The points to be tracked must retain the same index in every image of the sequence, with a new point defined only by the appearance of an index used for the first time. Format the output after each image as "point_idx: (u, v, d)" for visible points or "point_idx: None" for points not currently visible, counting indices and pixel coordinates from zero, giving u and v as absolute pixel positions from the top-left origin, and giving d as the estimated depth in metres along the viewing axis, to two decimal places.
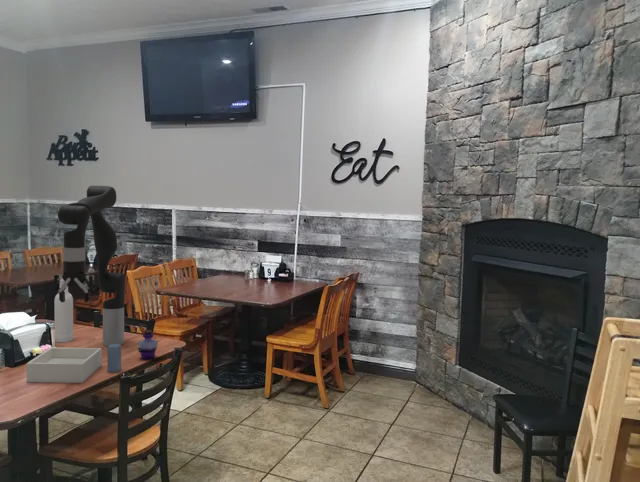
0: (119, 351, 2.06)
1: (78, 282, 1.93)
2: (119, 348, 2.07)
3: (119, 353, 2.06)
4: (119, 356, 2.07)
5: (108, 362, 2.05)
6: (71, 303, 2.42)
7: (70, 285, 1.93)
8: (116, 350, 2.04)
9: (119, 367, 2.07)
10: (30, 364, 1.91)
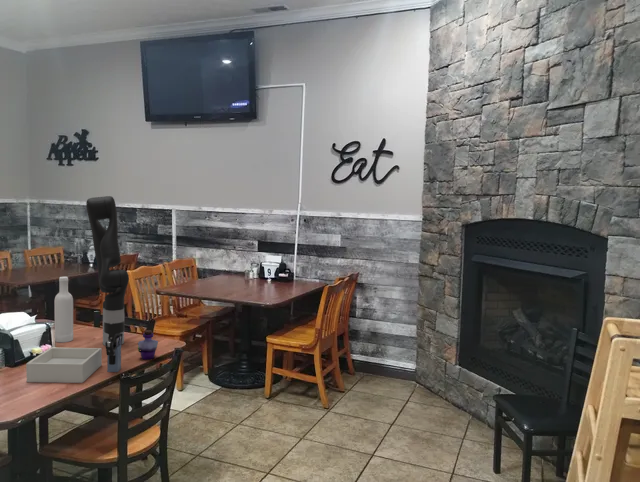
0: (119, 351, 2.06)
1: (119, 340, 2.08)
2: (119, 348, 2.07)
3: (119, 353, 2.07)
4: (119, 356, 2.07)
5: (108, 362, 2.05)
6: (71, 303, 2.42)
7: None
8: (116, 350, 2.04)
9: (119, 367, 2.07)
10: (30, 364, 1.91)
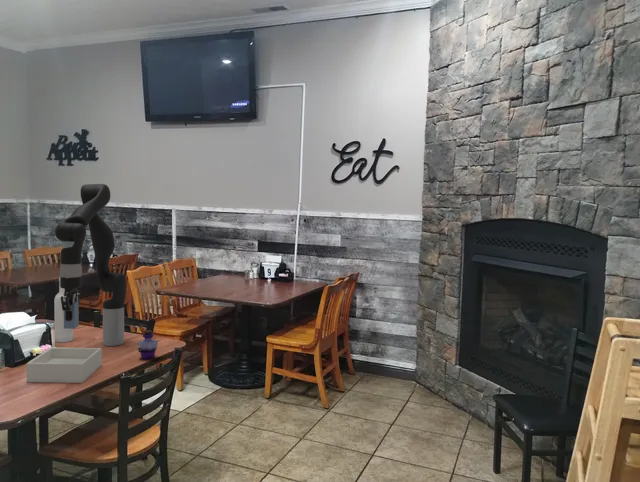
0: (76, 307, 2.00)
1: (77, 296, 2.01)
2: (77, 305, 2.01)
3: (76, 309, 2.00)
4: (76, 312, 2.00)
5: (64, 318, 1.98)
6: None
7: None
8: (73, 306, 1.98)
9: (76, 324, 2.01)
10: (30, 364, 1.91)
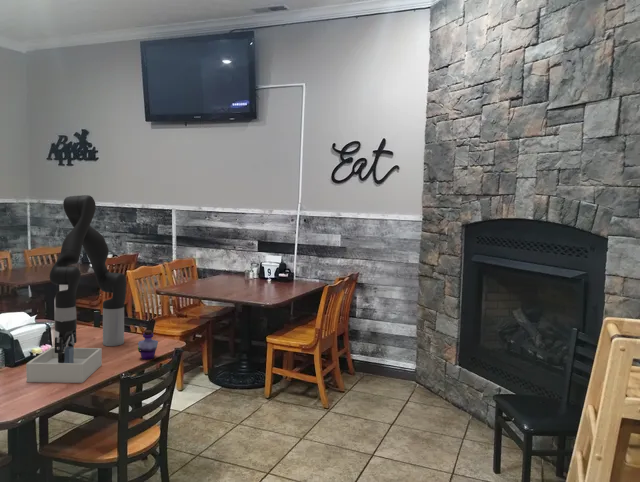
0: (71, 353, 2.01)
1: (72, 337, 2.03)
2: (72, 351, 2.02)
3: (71, 355, 2.02)
4: (71, 358, 2.02)
5: None
6: None
7: (67, 343, 2.00)
8: (67, 352, 1.99)
9: None
10: (30, 364, 1.91)
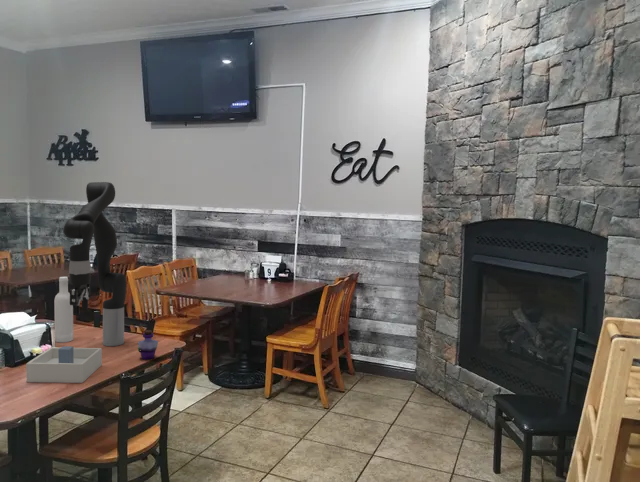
0: (71, 353, 2.01)
1: (86, 291, 2.06)
2: (72, 351, 2.02)
3: (71, 355, 2.02)
4: (71, 358, 2.02)
5: None
6: None
7: None
8: (67, 352, 1.99)
9: None
10: (30, 364, 1.91)
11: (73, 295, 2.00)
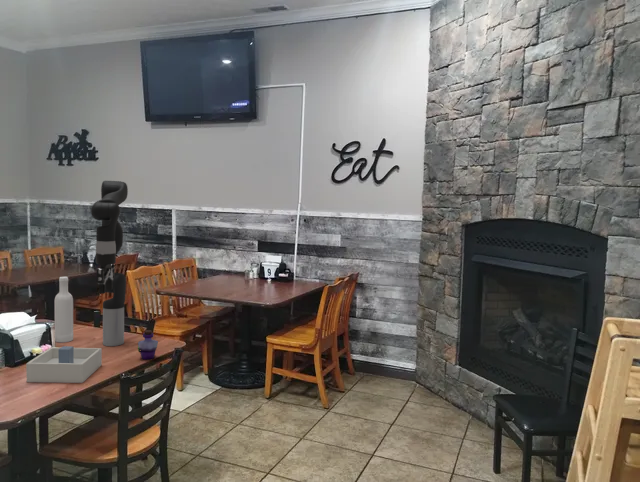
0: (71, 353, 2.01)
1: (111, 271, 2.13)
2: (72, 351, 2.02)
3: (71, 355, 2.02)
4: (71, 358, 2.02)
5: None
6: (71, 303, 2.42)
7: (107, 276, 2.10)
8: (67, 352, 1.99)
9: None
10: (30, 364, 1.91)
11: None
